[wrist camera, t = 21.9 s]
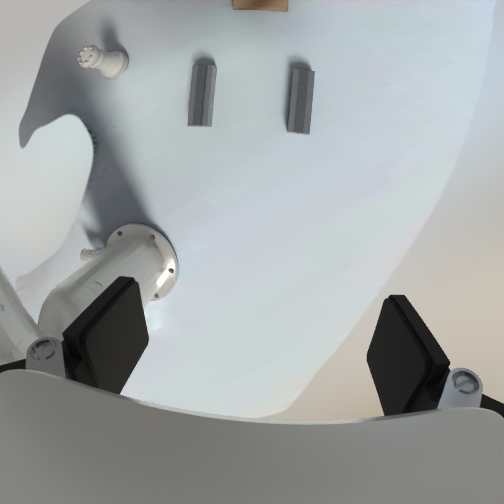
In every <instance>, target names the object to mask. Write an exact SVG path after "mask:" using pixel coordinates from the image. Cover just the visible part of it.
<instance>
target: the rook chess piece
mask: <svg viewBox="0 0 504 504" xmlns="http://www.w3.org/2000/svg"><path fill="white" fill-rule="evenodd" d="M79 54H80V57H77V61H79V64H80V66H81V67H83V68H88V67H90V68H97V69H99V71H100V73H101V75H102V76H104V77H105V78H108V79H115V78H117V77H119V76H120V75H121V74H123V72H124V71H125V69H126V67H127V64H128V57H127V56H126V54H125V53H123V52H120V51H112V52H109V53H106V52H103V50H101V49H98V47H97V46H95V45H91V46H89V47H84V48H83V51H80V52H79Z"/></svg>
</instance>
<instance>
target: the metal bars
mask: <svg viewBox="0 0 504 504" xmlns="http://www.w3.org/2000/svg"><path fill="white" fill-rule="evenodd" d="M216 72H217V68H216V67H215V66H214V65H207V64H198V65H193V73H192V82H191V91H190V102H189V113H188V126H194V127H211V125H212V113H213V102H214V91H215V81H216ZM314 74H315V71H309V70H308V69H293V76H292V88H291V99H290V111H289V121H288V132H289V133H297V134H305V135H309V132H310V122H311V111H312V100H313V88H314Z"/></svg>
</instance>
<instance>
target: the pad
mask: <svg viewBox="0 0 504 504" xmlns="http://www.w3.org/2000/svg"><path fill="white" fill-rule="evenodd" d="M232 7H233V9H234V10H273V11H286V12H287V11H288V0H233V6H232Z"/></svg>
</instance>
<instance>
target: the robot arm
mask: <svg viewBox="0 0 504 504" xmlns="http://www.w3.org/2000/svg"><path fill="white" fill-rule="evenodd" d="M80 256H81V260H83V261H87V262H88V263H87V264H85V265H84V266H83V267H81V268H80V269H79V270H77V271H76V272H75V273H73V274H72V275H71V276H69V277H68V278H67V279H65V280H64V281H63V282H62V283H60V284H59V285H58V286H56V287H55V288H54V289H53V290H52V291H51V292H50V293H49V294H48V296H47V297H46V299H45V301H44V303H43V305H42V308H41V311H40V315H39V320H38V325H37V324H36V323H35V322H34V320H33V319H32V317H31V316H30V314H29V313H28V311H27V310H26V308H25V306H24V305H23V303H22V302H21V300H20V298H19V297H18V295H17V293H16V292H15V290H14V288H13V287H12V285H11V283H10V282H9V280H8V279H7V276H6V275H5V273H4V271H3V270H2V268H1V267H0V504H504V404H503V403H501V402H499V401H496V400H494V399H492V398H490V397H488V396H486V395H484V394H482V391H483V384H482V382H481V380H480V378H479V377H478V375H476V374H475V373H474V372H473V371H471V370H469V369H465V368H456V369H453V370H452V371H450V369H449V365H450V361H449V359H448V358H447V356H446V355H445V353H444V351H443V350H442V348H441V347H440V345H439V344H438V342H437V341H436V339H435V338H434V336H433V335H432V333H431V332H430V330H429V329H428V327H427V326H426V324H425V323H424V321H423V320H422V319H421V317H420V316H419V315H418V313H417V311H416V310H415V309H414V307H413V306H412V305H411V303H410V302H409V301H408V299H407V298H406V296H405V295H390V296H389V297H388V298H386V299H385V300H384V302H383V305H382V309H381V313H380V316H379V319H378V322H377V325H376V329H375V332H374V335H373V338H372V341H371V343H370V346H369V349H368V352H367V363H368V366H369V368H370V372H371V374H372V378H373V380H374V384H375V387H376V390H377V393H378V396H379V399H380V402H381V405H382V409H383V412H384V416H382V417H371V418H359V419H345V420H321V421H320V420H316V421H315V420H313V421H311V420H309V421H308V420H270V419H255V418H243V417H233V416H224V415H216V414H209V413H202V412H196V411H190V410H184V409H179V408H173V407H168V406H164V405H159V404H154V403H150V402H146V401H142V400H138V399H134V398H130V397H126V396H122V395H119V394H120V393H121V391H122V389H123V387H124V385H125V384H126V382H127V380H128V378H129V377H130V375H131V373H132V371H133V369H134V368H135V366H136V364H137V362H138V361H139V359H140V357H141V355H142V354H143V352H144V350H145V349H146V347H147V345H148V341H149V336H148V331H147V326H146V321H145V316H144V308H145V307H146V306H147V304H148V303H149V302H150V301H156V300H159V299H161V298H163V297H165V296H166V295H167V294H168V293H169V292H170V291H171V290H172V288H173V287H174V285H175V283H176V281H177V277H178V262H177V258H176V255H175V252H174V250H173V248H172V247H171V245H170V243H169V242H168V241H167V240H166V238H165V237H164V236H163V235H162V234H160V233H159V232H158V231H156V230H155V229H153V228H152V227H149V226H147V225H144V224H139V223H131V224H127V225H124V226H122V227H120V228H118V229H117V230H115V231H114V232H113V233H112V234H111V236H110V237H109V239H108V241H107V243H106V247H105V248H104V249H99V250H97V251H94V250H89V249H83V250H82V251H81V254H80ZM172 268H173V269H172Z"/></svg>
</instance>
